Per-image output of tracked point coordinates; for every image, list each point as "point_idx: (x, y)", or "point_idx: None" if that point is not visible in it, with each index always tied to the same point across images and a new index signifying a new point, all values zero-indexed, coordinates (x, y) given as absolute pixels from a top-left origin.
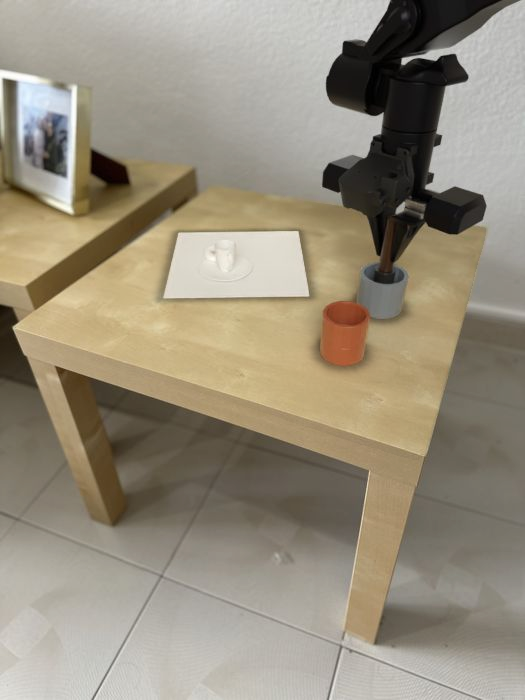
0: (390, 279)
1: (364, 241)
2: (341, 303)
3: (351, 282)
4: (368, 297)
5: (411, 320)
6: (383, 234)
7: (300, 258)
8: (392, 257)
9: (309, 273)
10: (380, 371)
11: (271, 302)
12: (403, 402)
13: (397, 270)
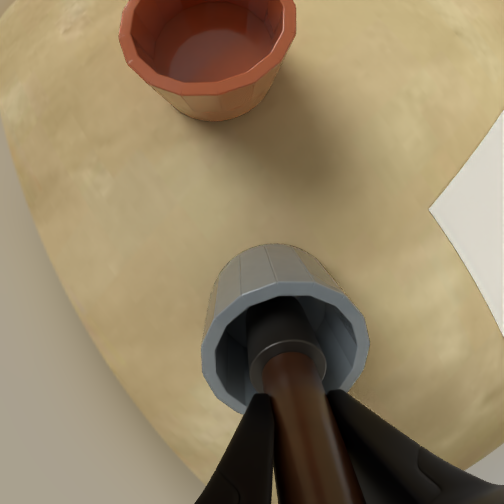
0: (251, 349)
1: (419, 444)
2: (268, 56)
3: (383, 334)
4: (280, 261)
5: (174, 310)
6: (358, 469)
7: (498, 316)
8: (260, 404)
9: (469, 288)
10: (105, 86)
11: (466, 127)
12: (34, 62)
13: None
